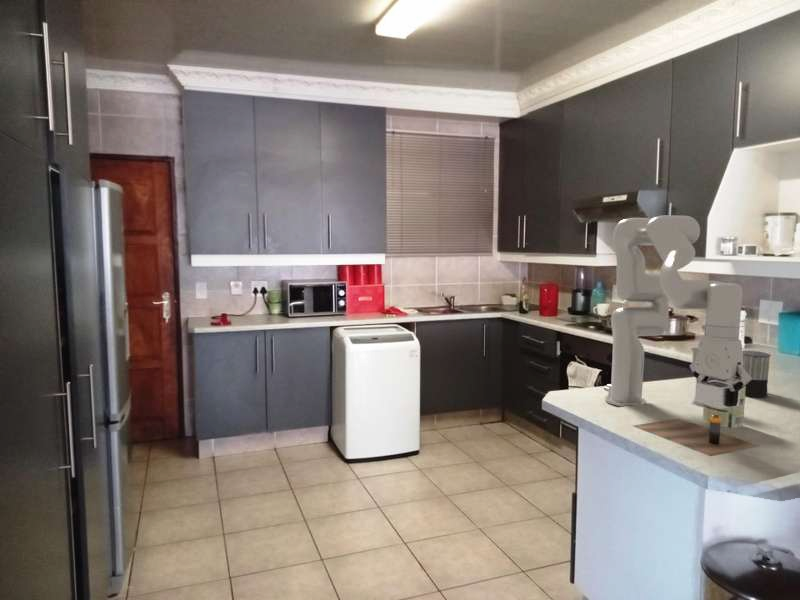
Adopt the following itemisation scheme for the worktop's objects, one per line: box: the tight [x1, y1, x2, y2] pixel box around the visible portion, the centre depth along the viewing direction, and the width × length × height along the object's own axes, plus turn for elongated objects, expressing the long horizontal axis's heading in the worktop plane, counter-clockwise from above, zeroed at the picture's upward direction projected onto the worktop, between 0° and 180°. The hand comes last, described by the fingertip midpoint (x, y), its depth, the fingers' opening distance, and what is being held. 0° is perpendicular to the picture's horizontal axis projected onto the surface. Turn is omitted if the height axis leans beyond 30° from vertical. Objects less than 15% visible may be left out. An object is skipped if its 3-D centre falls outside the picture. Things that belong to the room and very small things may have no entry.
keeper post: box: [708, 414, 722, 444], centre depth 142 cm, size 3×3×7 cm
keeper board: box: [633, 418, 760, 457], centre depth 148 cm, size 24×18×2 cm
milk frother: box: [741, 350, 772, 399], centre depth 198 cm, size 14×16×15 cm
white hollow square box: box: [694, 380, 741, 409], centre depth 141 cm, size 7×7×5 cm
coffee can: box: [702, 377, 746, 429], centre depth 159 cm, size 10×10×14 cm
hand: (717, 401), depth 141 cm, fingers closed on white hollow square box, 7 cm apart
